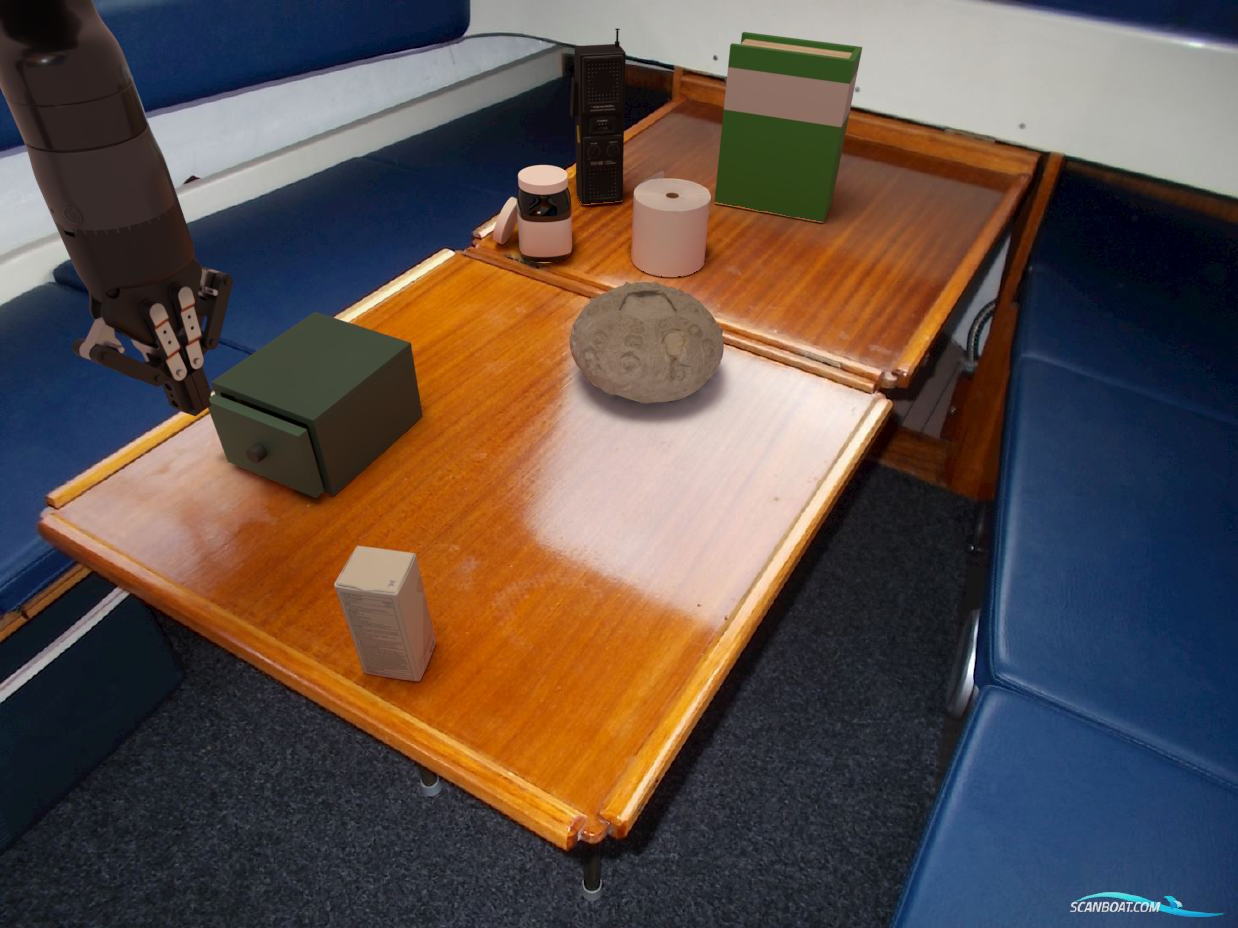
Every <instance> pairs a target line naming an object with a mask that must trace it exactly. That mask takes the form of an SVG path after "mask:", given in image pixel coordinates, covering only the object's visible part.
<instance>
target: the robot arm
mask: <svg viewBox="0 0 1238 928" xmlns="http://www.w3.org/2000/svg"><path fill="white" fill-rule="evenodd" d="M0 90H1V92H2V93H1V94H2V95H3V96H4V99H5V102H6V103H7V107H8V108H9V110H10V113H11V115H12V117H13V119H14V122H15V124H16V127H17V129H18V131H19V133H20V136H21V138H22V140H23V143H24V146H25V148H26V151H27V155H28V157H29V161H30V165H31V170H32V172H33V176H34V178H35V181H36V184H37V186H38V189H39V190H40V193H41V195H42V197H43V199H44V202H45V204H46V206H47V209H48V211H49V214H50V215H51V218H52V220H53V223H54V224H55V225H54V226H55V227H56V229H57V231H58V235H59V236H60V238H61V240H62V243H63V245H64V247H65V250H66V252H67V254H68V256H69V258H70V261H71V263H72V266H73V267H74V270H75V272H76V274H77V276H78V277H79V279H80V280H81V281H82V283H83V284H84V286H85V288H86V289H87V291H88V295H89V306H88V309H89V314H90V316H91V317H92V319H93V320H94V321H93V324H92V325H91V327H90V330H89V332H88V334H87V336H86V338H81V337H79V338H77V339H75V340H74V341H73V343H72V345H71V351H72V353H73V354H74V355H75V356H78V357H81V358H83V359H85V360H87V361H90V362H91V363H92V362H93V363H95V364H98V365H100V366H102V367H104V368H107V369H110V370H112V371H114V372H117V373H120V374H121V375H124V376H126V377H129V378H131V379H134V380H138V381H141V382H144V383H146V384H148V385H151V386H153V387H157V388H158V387H162V389H163V392H164V394H165V397H166V399H167V402H168V404H169V406H170V407H171V408H172V409H173V410H176V411H179V412H182V413H184V414H187V415H191V416H192V417H197V416H199V415H200V414H201V413H202V412H204V411H205V410H207V409H208V407H209V406H211V403H210V400H209V398H210V397H211V396H212V390H211V386H210V385H209V381H208V378H207V376H206V373H205V370H204V368H203V367H204V366H203V365H204V361H205V359H204V356H205V355H206V354H207V353H208V351H214V350H216V349H217V348H218V346H219V344H220V339H221V334H222V330H223V326H224V322H225V318H226V314H227V309H228V305H229V301H230V298H231V297H230V296H231V293H232V289H233V285H234V279H233V276H232V275H231V274H229V273H226V272H223V271H218V270H216V269H212V268H209V267H205V266H202V264H201V262H200V260H198V258H196V257H195V253H196V250H195V249H196V248H195V245H194V242H193V239H192V236H191V233H190V230H189V227H188V224H187V221H186V218H185V215H184V212H183V208H182V205H181V203H180V200H179V197H178V194H177V191H176V188H175V185H174V182H173V179H172V176H171V173H170V170H169V167H168V164H167V162H166V159H165V156H164V154H163V152H162V149H161V147H160V145H159V143H158V141H157V139H156V138H155V135H154V133H153V131H152V129H151V126H150V123H149V122H148V118H147V114H146V112H145V108H144V106H143V102H142V99H141V96H140V94H139V90H138V88H137V85H136V82H135V79H134V76H133V74H132V71H131V68H130V66H129V63H128V60H127V58H126V56H125V54H124V51H123V49H122V47H121V45H120V43H119V42H118V40H117V39H116V37H115V35H114V34H113V33H112V32H111V30H110V28H109V27H108V26H107V24H106V23H105V22H104V20H103V19H102V17H101V16H100V15H99V12H98V10H97V8H96V5H95V2H94V0H0ZM205 318H206V321H205ZM204 321H205V326H204V329H203V324H204ZM202 329H203V330H202ZM115 332H116V333H118V334H120V335H122V336H124V337H125V338H128V339H129V340H130V341H131V343H132V344H133V346H134V347H135V349H137V350H138V351H139V352H140V353H141V354H142V356H143V358H144V360H145V361H144V362H143V361H140V360H138V359H136V358H133V357H132V356H128V355H127V354H125V347H124V346H123V344H122V342H121V341H120V340H119V339H118V338H117V337H116V334H115Z"/></svg>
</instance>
